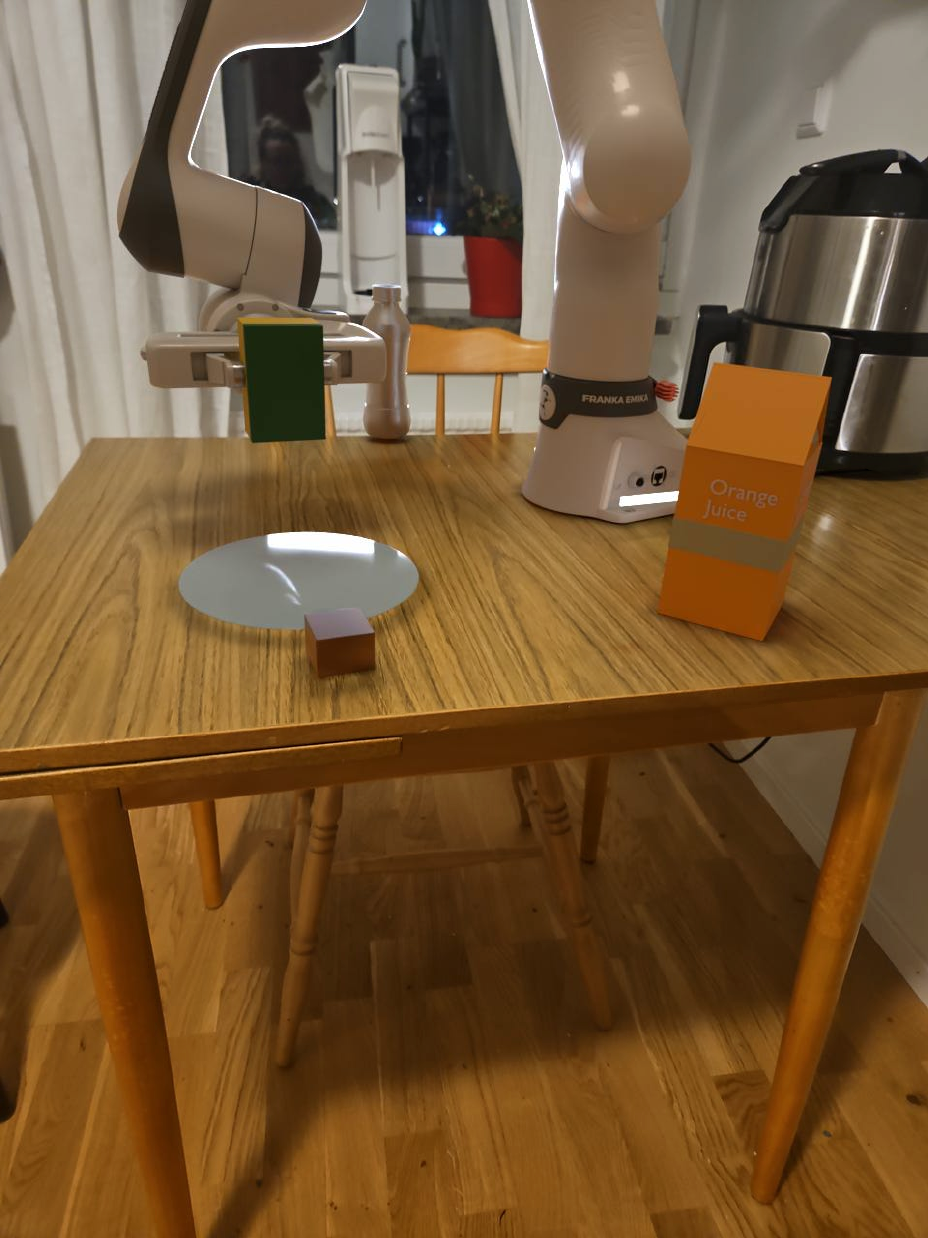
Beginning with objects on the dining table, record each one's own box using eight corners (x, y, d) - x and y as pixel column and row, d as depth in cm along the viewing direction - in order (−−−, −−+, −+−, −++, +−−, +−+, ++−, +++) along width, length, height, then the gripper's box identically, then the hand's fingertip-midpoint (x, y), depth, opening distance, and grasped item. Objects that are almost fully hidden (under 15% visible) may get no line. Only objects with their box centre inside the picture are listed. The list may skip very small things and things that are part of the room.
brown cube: (360, 655, 59) (359, 607, 58) (375, 683, 56) (375, 632, 54) (306, 663, 58) (303, 613, 56) (318, 692, 55) (316, 640, 53)
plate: (382, 535, 81) (382, 524, 81) (451, 624, 65) (452, 610, 64) (171, 555, 74) (170, 542, 74) (189, 659, 58) (188, 645, 57)
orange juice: (683, 582, 74) (725, 355, 65) (782, 607, 70) (842, 370, 61) (655, 613, 68) (698, 368, 59) (762, 642, 64) (825, 385, 55)
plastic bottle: (403, 446, 111) (405, 289, 102) (356, 441, 112) (354, 285, 103) (415, 434, 117) (418, 285, 108) (370, 430, 118) (369, 282, 109)
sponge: (315, 427, 70) (312, 317, 66) (326, 439, 67) (323, 325, 63) (244, 430, 68) (236, 317, 64) (252, 443, 65) (244, 325, 61)
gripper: (134, 311, 71) (140, 335, 60) (361, 312, 78) (405, 333, 67) (143, 384, 74) (151, 420, 62) (362, 379, 81) (404, 411, 70)
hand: (284, 375), depth 65 cm, fingers closed on sponge, 6 cm apart
